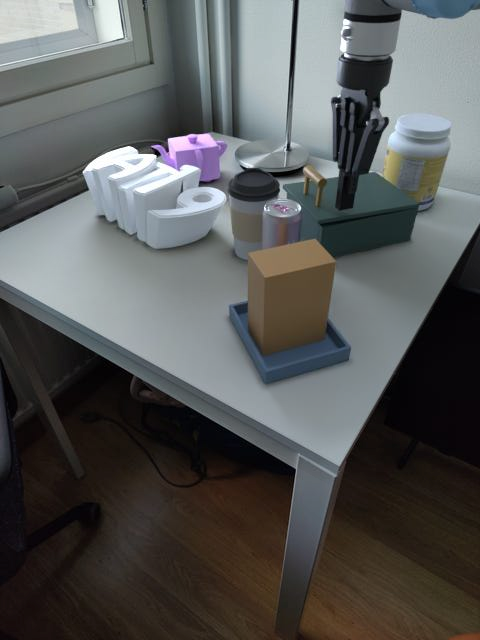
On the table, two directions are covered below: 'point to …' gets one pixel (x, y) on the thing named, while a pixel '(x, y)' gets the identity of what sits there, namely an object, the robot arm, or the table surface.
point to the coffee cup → (250, 207)
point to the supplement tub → (417, 156)
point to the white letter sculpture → (152, 198)
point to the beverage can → (281, 223)
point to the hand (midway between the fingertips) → (343, 207)
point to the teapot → (195, 154)
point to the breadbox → (359, 231)
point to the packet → (289, 295)
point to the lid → (369, 199)
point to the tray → (290, 350)
